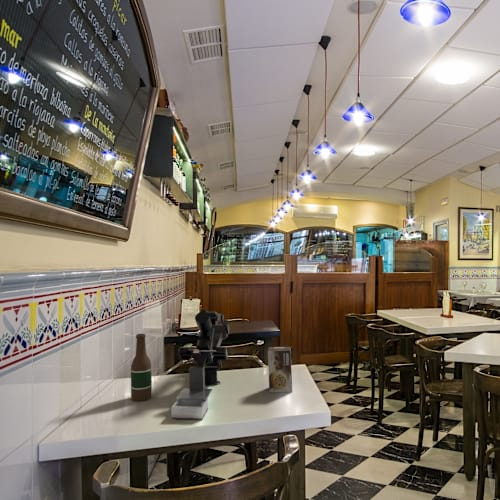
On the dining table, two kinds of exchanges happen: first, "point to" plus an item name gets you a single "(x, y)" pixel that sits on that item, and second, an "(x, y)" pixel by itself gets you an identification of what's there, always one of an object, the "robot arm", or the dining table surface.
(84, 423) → the dining table surface
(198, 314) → the robot arm
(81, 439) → the dining table surface
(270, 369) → the grey printed box
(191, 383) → the lid
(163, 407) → the dining table surface
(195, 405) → the white flat block
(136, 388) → the beer bottle
